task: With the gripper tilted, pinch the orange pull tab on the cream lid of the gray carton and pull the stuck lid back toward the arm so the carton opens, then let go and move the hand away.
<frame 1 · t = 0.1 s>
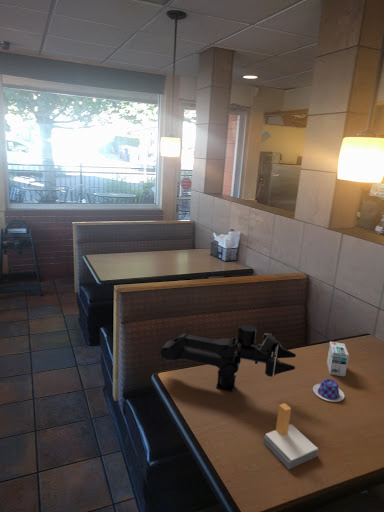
hand: (295, 361, 142), 17 cm above the table, tool horizontal, fingers open, 9 cm apart
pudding: (328, 394, 152), on the table
lid: (292, 428, 120), point 8 cm above the table, slide at 0.0 cm
gray carton: (289, 449, 122), on the table
light bulb box: (335, 369, 170), on the table
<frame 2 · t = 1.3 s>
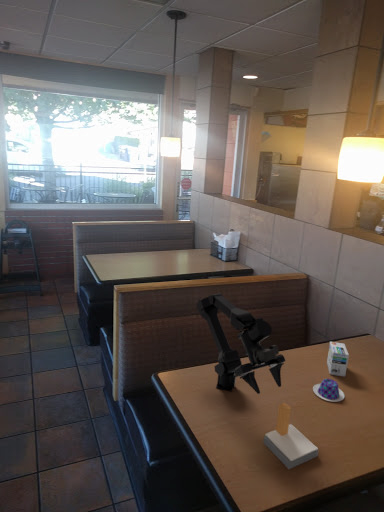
hand: (269, 390, 129), 14 cm above the table, tool tilted 45°, fingers open, 9 cm apart
nothing on the table moved.
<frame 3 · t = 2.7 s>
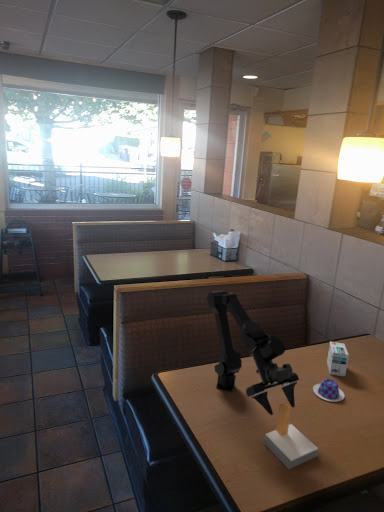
hand: (282, 410, 123), 11 cm above the table, tool tilted 45°, fingers open, 9 cm apart
nothing on the table moved.
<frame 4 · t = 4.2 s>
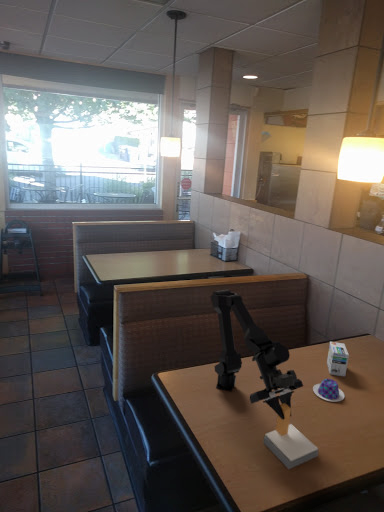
hand: (286, 417, 122), 10 cm above the table, tool tilted 45°, fingers closed on lid, 2 cm apart
lid: (292, 428, 120), point 8 cm above the table, slide at 0.0 cm, touching gripper
everything else where it was.
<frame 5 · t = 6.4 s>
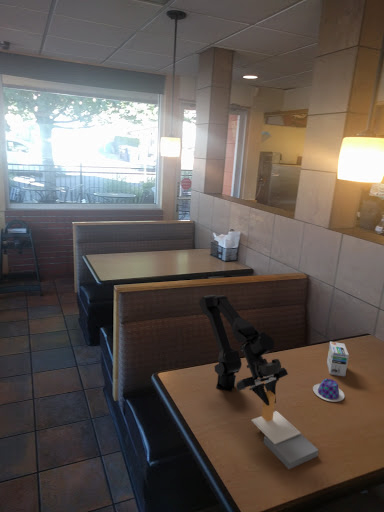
hand: (271, 404, 128), 10 cm above the table, tool tilted 45°, fingers closed on lid, 2 cm apart
lid: (277, 414, 126), point 8 cm above the table, slide at 7.5 cm, touching gripper
everything else where it was.
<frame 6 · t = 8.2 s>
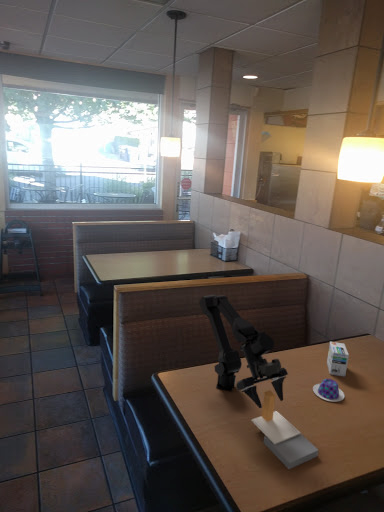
hand: (271, 404, 128), 10 cm above the table, tool tilted 45°, fingers open, 9 cm apart
lid: (277, 414, 126), point 8 cm above the table, slide at 7.5 cm
everything else where it was.
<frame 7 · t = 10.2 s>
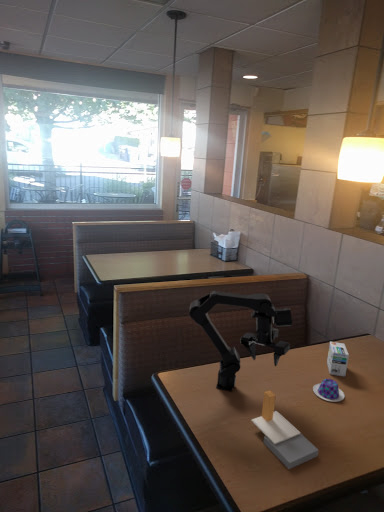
hand: (265, 362, 150), 11 cm above the table, tool pointing down, fingers open, 9 cm apart
nothing on the table moved.
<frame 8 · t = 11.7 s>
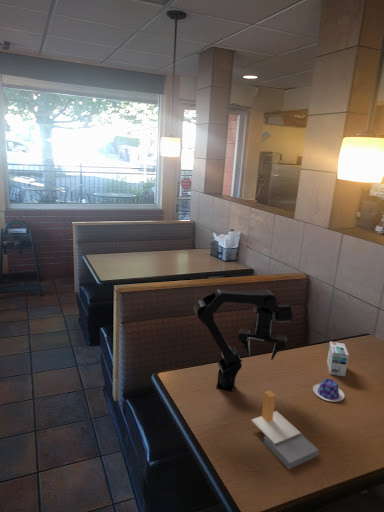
hand: (260, 357, 153), 12 cm above the table, tool pointing down, fingers open, 9 cm apart
at the end: lid slide at 7.5 cm; the gripper is holding nothing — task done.
